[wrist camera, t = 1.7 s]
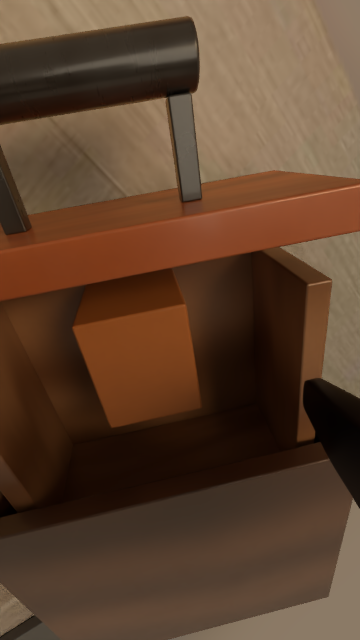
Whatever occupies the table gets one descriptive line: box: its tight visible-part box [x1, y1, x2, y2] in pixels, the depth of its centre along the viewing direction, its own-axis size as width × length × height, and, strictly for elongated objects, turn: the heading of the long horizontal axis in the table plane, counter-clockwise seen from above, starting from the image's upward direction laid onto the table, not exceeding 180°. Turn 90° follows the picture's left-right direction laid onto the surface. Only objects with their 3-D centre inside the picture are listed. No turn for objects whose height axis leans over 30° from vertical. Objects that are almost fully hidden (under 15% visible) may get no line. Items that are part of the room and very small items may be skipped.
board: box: [0, 616, 61, 640], centre depth 30 cm, size 30×6×1 cm, turn 130°
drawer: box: [0, 16, 360, 513], centre depth 11 cm, size 16×13×6 cm
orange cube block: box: [72, 268, 202, 428], centre depth 12 cm, size 5×4×4 cm
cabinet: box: [0, 432, 353, 640], centre depth 17 cm, size 14×15×8 cm
